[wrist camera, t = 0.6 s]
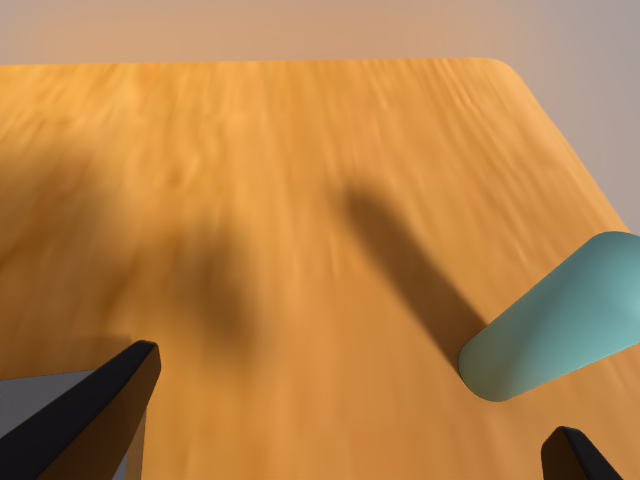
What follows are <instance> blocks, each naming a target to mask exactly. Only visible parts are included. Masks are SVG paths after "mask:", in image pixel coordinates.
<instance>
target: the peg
mask: <svg viewBox="0 0 640 480" xmlns="http://www.w3.org/2000/svg"><path fill="white" fill-rule="evenodd" d="M638 343H640V237H639V236H636V235H633V234H630V233H625V232H617V231H613V232H604V233H601V234H598V235H596V236H594V237H593V238H591V239H590V240H589V241H588V242H586V243H585V244H584V245H583V246H582V247H580V248H579V249H578V250H577V251H576V252H574V253H573V254H572V255H571V256H570V257H568V258H567V259H566V260H565V261H564V262H563V263H561V264H560V265H559V266H558V267H557V268H555V269H554V270H553V271H552V272H551V273H549V274H548V275H547V276H546V277H545V278H544V279H542V280H541V281H540V282H539V283H538V284H536V285H535V286H534V287H533V288H532V289H530V290H529V291H528V292H527V293H526V294H524V295H523V296H522V297H521V298H520V299H519V300H517V301H516V302H515V303H514V304H513V305H511V306H510V307H509V308H508V309H507V310H505V311H504V312H503V313H502V314H501V315H500V316H498V317H497V318H496V319H495V320H494V321H492V322H491V323H490V324H489V325H488V326H486V327H485V328H484V329H483V330H482V331H481V332H479V333H478V334H477V335H476V336H475V337H473V338H472V339H471V340H470V341H469V342H467V343H466V344H465V345H464V346H463V348H462V349H461V351H460V354H459V358H458V367H459V372H460V375H461V377H462V379H463V381H464V383H465V384H466V385H467V387H468V388H469V389H470V390H471V391H472V392H473V393H474V394H476V395H477V396H479V397H481V398H483V399H485V400H488V401H493V402H501V401H505V400H507V399H510V398H512V397H514V396H517V395H519V394H521V393H524V392H526V391H528V390H531V389H533V388H535V387H538V386H540V385H542V384H545V383H547V382H549V381H552V380H554V379H556V378H559V377H561V376H563V375H566V374H568V373H570V372H573V371H575V370H577V369H580V368H582V367H584V366H587V365H589V364H591V363H594V362H596V361H598V360H601V359H603V358H605V357H607V356H610V355H612V354H614V353H617V352H619V351H621V350H624V349H626V348H628V347H631V346H633V345H635V344H638Z"/></svg>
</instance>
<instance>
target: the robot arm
mask: <svg viewBox="0 0 640 480" xmlns="http://www.w3.org/2000/svg"><path fill="white" fill-rule="evenodd" d="M160 372H161V360H160V353H159V347H158V345H157V343H155V342H151V341H146V340H139V341H136V342H135V343H133V344H132V345H130V346H129V347H128V348H126V349H125V350H123V351H122V352H121V353H119V354H118V355H116V356H115V357H114V358H112V359H111V360H109V361H108V362H107V363H105V364H104V365H102V366H101V367H99V368H98V369H97V370H95V371H94V372H92V373H91V374H90V375H88V376H87V377H85V378H84V379H83V380H81V381H80V382H78V383H77V384H76V385H74V386H73V387H71V388H70V389H69V390H67V391H66V392H64V393H63V394H61V395H60V396H59V397H57V398H56V399H54V400H53V401H52V402H50V403H49V404H47V405H46V406H45V407H43V408H42V409H40V410H39V411H38V412H36V413H35V414H33V415H32V416H30V417H29V418H28V419H26V420H25V421H23V422H22V423H21V424H19V425H18V426H16V427H15V428H14V429H12V430H11V431H9V432H8V433H7V434H5V435H4V436H2V437H1V438H0V480H112V479H113V477H114V475H115V473H116V471H117V469H118V468H119V466H120V464H121V462H122V460H123V458H124V456H125V454H126V453H127V451H128V449H129V447H130V445H131V443H132V441H133V438H134V436H135V434H136V432H137V429H138V427H139V424H140V422H141V419H142V417H143V414H144V412H145V410H146V407H147V405H148V402H149V400H150V397H151V395H152V392H153V390H154V387H155V385H156V383H157V380H158V378H159V375H160ZM541 461H542V469H543V478H544V480H623V479H622V478H621V476H620V475H619V474H618V473H617V472H616V471H615V469H614V468H613V467H612V466H611V465H610V464H609V462H608V461H607V460H606V459H605V458H604V456H603V455H602V454H601V453H600V452H599V451H598V449H597V448H596V447H595V446H594V445H593V444H592V442H591V441H590V440H589V439H588V438H587V437H586V435H585V434H584V433H583V432H581V431H580V430H578V429H575V428H570V427H565V426H559V427H557V428H556V429H555V430H554V432H553V433H552V434H551V435H550V436H549V437H548V439H547V440H546V441H545V442H544V443H543V445H542V448H541Z"/></svg>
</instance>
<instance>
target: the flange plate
mask: <svg viewBox="0 0 640 480" xmlns="http://www.w3.org/2000/svg"><path fill="white" fill-rule="evenodd" d="M94 371H95V370H89V371H80V372H71V373H62V374H53V375H44V376H35V377H26V378H17V379H8V380H0V438H1V437H2V436H4V435H5V434H7V433H8V432H9V431H11V430H12V429H14V428H15V427H16V426H18V425H19V424H21V423H22V422H23V421H25V420H26V419H28V418H29V417H30V416H32V415H33V414H35V413H36V412H38V411H39V410H40V409H42V408H43V407H45V406H46V405H47V404H49V403H50V402H52V401H53V400H54V399H56V398H57V397H59V396H60V395H61V394H63V393H64V392H66V391H67V390H69V389H70V388H71V387H73V386H74V385H76V384H77V383H78V382H80V381H81V380H83V379H84V378H85V377H87V376H88V375H90V374H91V373H92V372H94ZM146 409H147V407H146ZM145 421H146V410H145V412H144V414H143V417H142V419H141V422H140V424H139V427H138V429H137V432H136V434H135V436H134V438H133V441H132V443H131V445H130V447H129V449H128V451H127V453H126V454H125V456H124V458H123V460H122V462H121V464H120V466H119V468H118V469H117V471H116V473H115V475H114V477H113V479H112V480H141V470H142V458H143V446H144V433H145Z"/></svg>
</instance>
